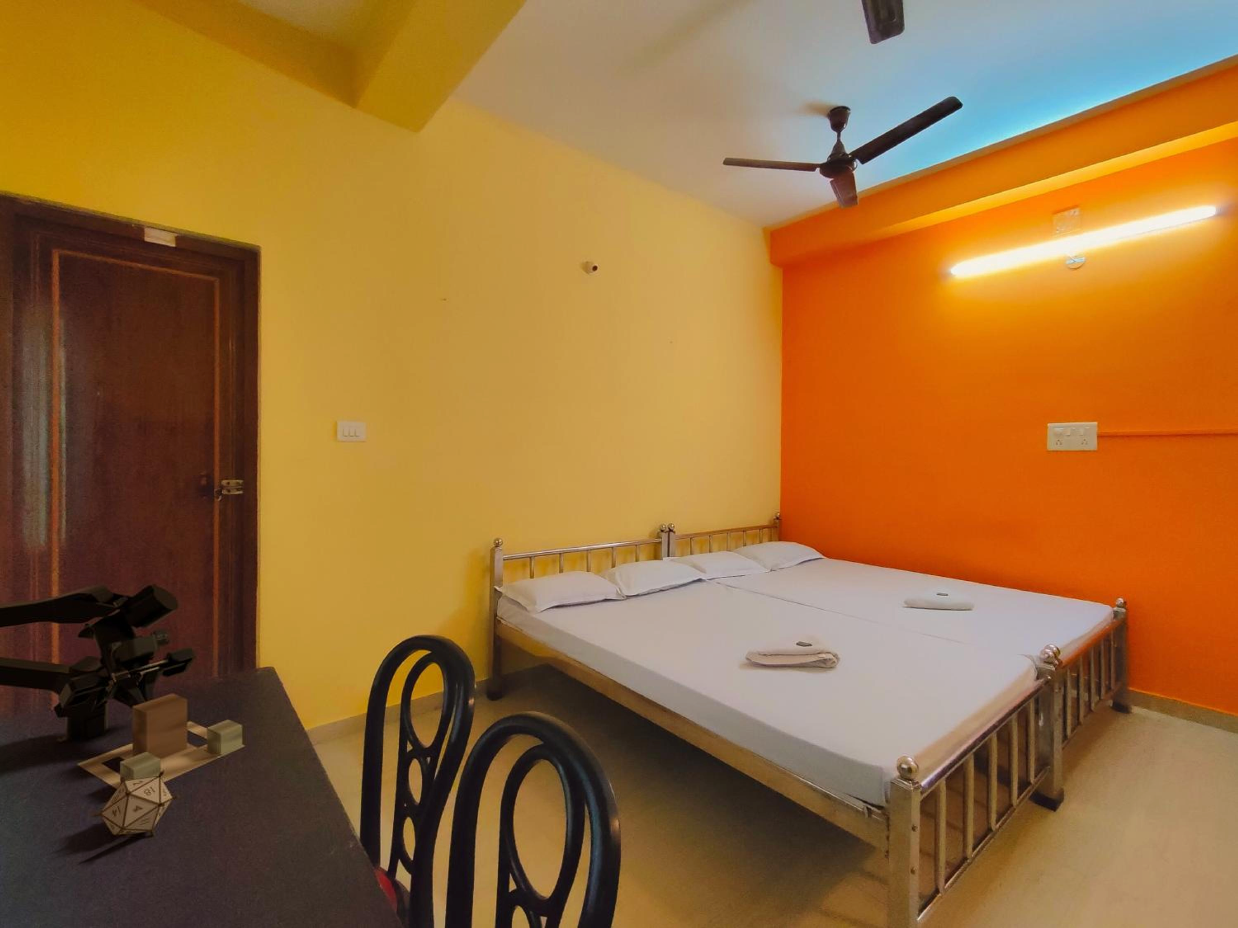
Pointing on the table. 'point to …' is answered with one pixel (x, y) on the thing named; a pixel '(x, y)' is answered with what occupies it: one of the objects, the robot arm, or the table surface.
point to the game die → (136, 805)
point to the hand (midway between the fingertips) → (148, 714)
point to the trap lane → (147, 765)
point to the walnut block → (160, 726)
